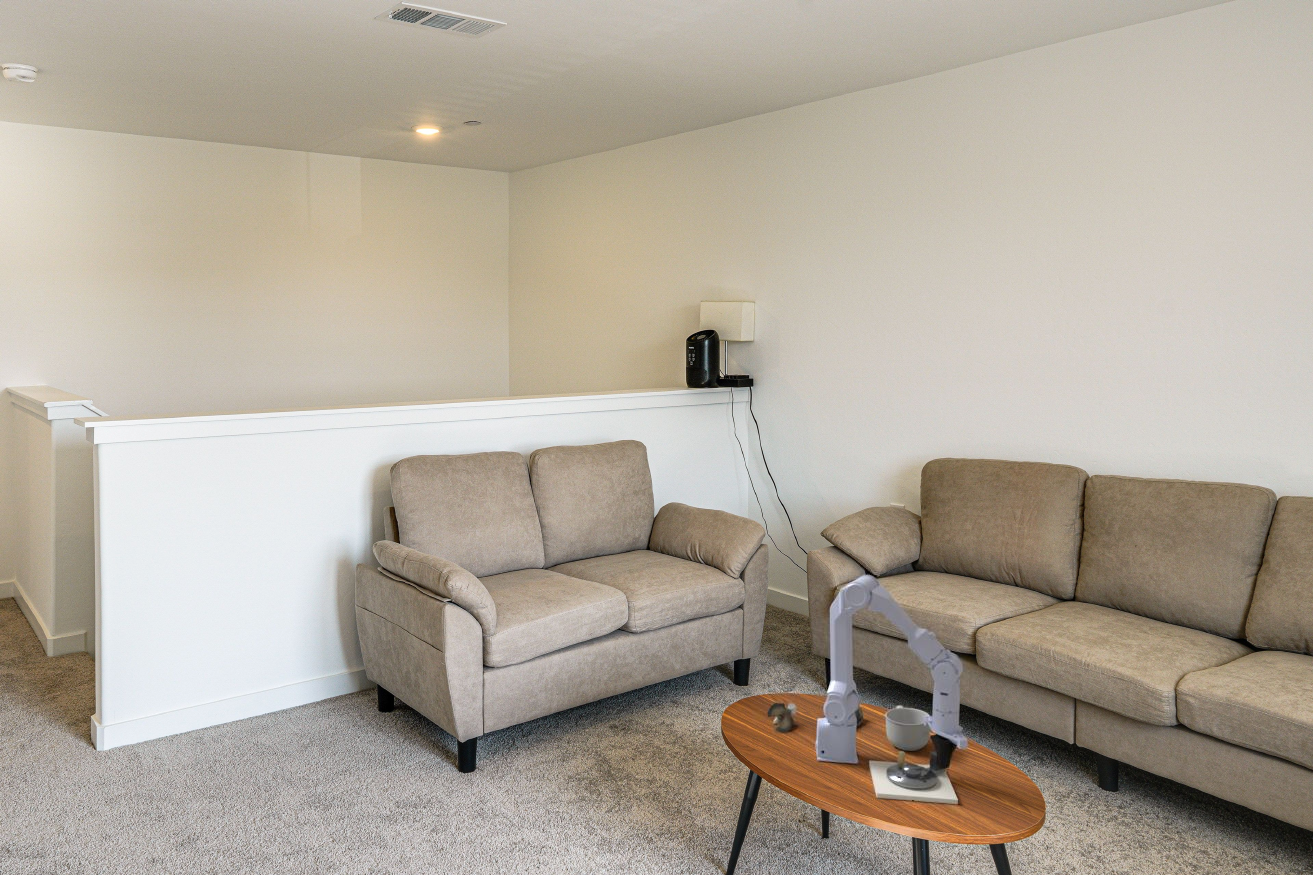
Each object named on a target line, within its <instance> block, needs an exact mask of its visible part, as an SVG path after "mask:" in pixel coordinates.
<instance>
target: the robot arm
mask: <svg viewBox="0 0 1313 875" xmlns="http://www.w3.org/2000/svg"><path fill="white" fill-rule="evenodd" d="M867 606H868V608H867V610H866V611H869V612H875V613H879V614H883V616H885V617H886V619H888V620H889V622H891V623H892V624H893V625H894V626H895V627H896V628H897V629H898V630H899V631H900V632H901V633H902V634H903V635H904V636H905V637H906V638H907V646H908V647H909V648H910V649H911V651H912V652H913V653H914V654H915V655H916V656H917V657H918V658H919V659H920V660H921V661H922V662H923V664H924V665H926V667H927V668H929V669H930V674H931V677H932V679H933V681H934V682H933V684H934V685H933V691H932V692H933V693H932V694H933V695H932V715H930V716H926V717H924V725H925V726H929V727H930V731H931V732H932V733H934V734H930V738H929V740H930V741H931V742H932V744H933V747H934V750H935V751H936V754H937V758H938V766H939V767H940V768H941V769H943V768H946V769H950V766H951V760H952V757H953V754H954V751H955V750H956V748H958V749H959V750H963V749H968V746H969V745H968V744H969V740H968V739H967V738H966V737H965V735H963V733H962V731H963V727H962V726H961V725H959V723H960V722H959V721H960V702H961V699H960V698H961V690H960V687H961V686H960V685H961V683H960V682H961V679H960V678H959V677H960V676H961V675H962V673H963V670H964V666H963V665H964V664H963V662H962V660H961V659H960V658H959V657H960V656H958V655H957V654H955V653H953V652H951V650H950V649H949V648H948V649H947V648H945V647H944V646H943V645H942V644H941V643H940V642H939V641H938V639H937V638H936V637H937V635H936V633H934V631H929V630H928V629H927V628H921V627H918V626H917V625H916V623H915V622H914V621H913V620H912V619H911V617H910V616H909V615H908V614H907V613H906V612H905V610H903V608H902V607H901V606H900V605H899V603H898V602H897V601H896V600H895V598H893V596H892V595H891V593H890V592H889V591H888V589H887V588H886V587H885V586H884V585H883V584H880V582H879V581H878V579H877V577H876V578H875V577H874V576H873V575H870V574H863V575H860V576H859V577H857V578H856V579H854V580H853V581H851V582H849V583H848V584H846V585H845V586H843V587H842V588H840V590H839V593H838V594H837V595H836V597H835V599H834V600H833V602H832V603H831V605H830V607H829V634H830V635H829V641H830V642H829V643H830V644H829V645H830V646H829V647H830V651H829V652H830V682H829V686H828V689H827V691H826V700H825V702H824V704H823V709H822V710H823V715H824V716H825V717H826V718H824V717H823V718H822V717H821V718H820V717H819V718H816V719H817V721H816V741H815V746H814V747H815V753H816V758H817V761H818V762H828V763H829V762H830V763H831V762H832V763H833V762H834V763H844V764H855V765H856V764H857V765H858V764H859V759H858V754H857V750H856V746H857V745H856V744H857V742H856V741H857V727H856V725H857V719H856V716H855V711H857V710H858V708H859V707H861V698H860V696H859V693H858V691H857V684H856V682H855V680H854V671H853V670H854V669H853V668H854V667H853V666H854V665H853V663H854V662H853V659H854V658H853V615H854V614H855V613H856V612H857V611H858V610H861V609H863V608H866V607H867Z"/></svg>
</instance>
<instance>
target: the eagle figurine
mask: <svg viewBox="0 0 1313 875" xmlns="http://www.w3.org/2000/svg"><path fill="white" fill-rule="evenodd" d="M797 711H798V710H797V706H796V704H794V703H791V702H789V703H788V705H787V706H786V705H785V703H784V702H782V703H781V702H776V701H774V700H772V705H771V706H769V708H768V710H767V713H766V715H767V716H766V717H768V718H775V719H774V720H773V722H772V725H774V724H777V725H776V726H775V727H774V731H775V732H777V733H779V732H781V733H782V732H783V733H787V732H790V731H791V729H792V727H793V724H794V722H795V721H794V718H793V717H792V716H795V715H796V714H797Z"/></svg>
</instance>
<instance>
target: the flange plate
mask: <svg viewBox="0 0 1313 875" xmlns="http://www.w3.org/2000/svg"><path fill="white" fill-rule="evenodd" d="M916 764H917V763H910V762H909V763H907V764H897V765H893V766H890V767H889V768H888V769H887V771H886V776H887V778H888V779H889V780H890V781H891V782H893V783H895V784H897V785H899V786H902V787H906V788H911V789H927V788H931V787H933V786H935V785H936V784H937V776H936V774H939V773H943V772H946V773H947V771H946V769H947V768H943V769H941V768H940V767H939V766H938V758H937V754H936V750H935V751H931V752H930V753H929V765H930V767H929V768H924V767H921V766H918V765H916Z"/></svg>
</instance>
